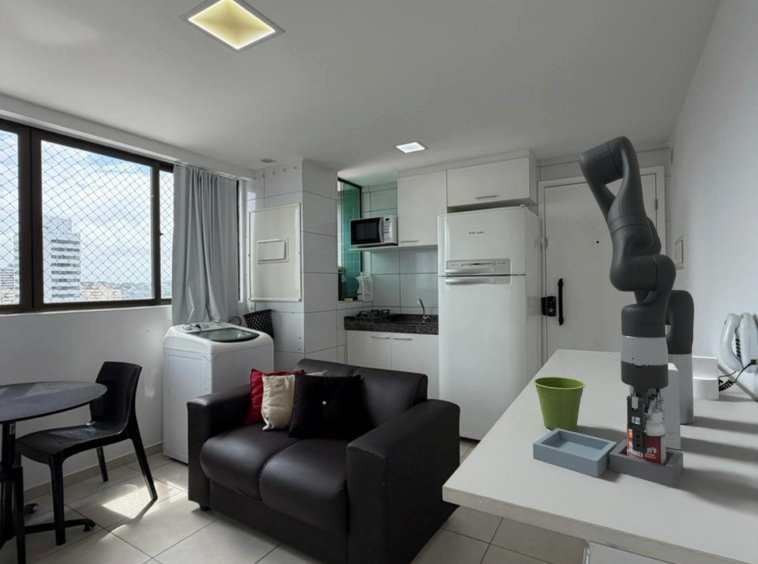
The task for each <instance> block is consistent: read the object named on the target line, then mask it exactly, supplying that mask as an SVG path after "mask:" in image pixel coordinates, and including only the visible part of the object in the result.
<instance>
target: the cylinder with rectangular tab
mask: <svg viewBox="0 0 758 564" xmlns="http://www.w3.org/2000/svg"><path fill="white" fill-rule="evenodd" d="M718 359H719V358H718V357H716V356H704V355H703V356H701V355H692V368H693V400H694V399H695V400H703V401H704V400H705V401H715V400H716V399H717V400H719V398H720V397H719V395H720V394H719V364H718V362H719V361H718Z"/></svg>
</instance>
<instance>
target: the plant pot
mask: <svg viewBox="0 0 758 564" xmlns="http://www.w3.org/2000/svg"><path fill="white" fill-rule="evenodd" d="M532 382H533V384H534V385H535V389H536V393H537V395H538V399H539V404H540V409H541V410H540V411H541V415H542V420H543V426H544V427H545V428H546V429H547V428H548V429H550V430H551V431H553V430H555V429H556V428H559V429H563V430H567V431H572V432H576V430H577V427H578V418H579V413H580V412H579V411H580V407H581V399H582V396H583V392H584V391H583V390H584V388H585V387H586V386H587V384H586V383H585V382H584V381H581V380H579V379H575V378H573V377H572V378H571V377H564V376H541V377H540V376H539V377H537V378H535V379H533V380H532Z"/></svg>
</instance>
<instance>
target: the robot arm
mask: <svg viewBox="0 0 758 564" xmlns="http://www.w3.org/2000/svg"><path fill="white" fill-rule="evenodd" d="M578 163H579V167H580V171H581V173H582V175H583V178H584V179H585V182H586V184H587V185H588V187H589V190H590V191H591V193H592V195H593V197H594V199H595V202H596V203H597V205H598V207H599V209H600V211H601V214H602V215H603V218H604V220H605V224H606V226H607V229H608V231H609V235H610V239H611V243H612V255H611V256H612V257H611V258H612V259H611V264H610V268H609V269H610V270H609V280H610V284H611V286H613V287H614V288H615V289H616V290H617V291H620V292H623V293H624V292H628V293H632V292H633V294H634V298H635V301H636V303H631V304H627V305H625V306H623V307H622V308H621V312H620V321H621V324H620V326H621V341H620V376H621V377H620V380H621V382H622V383H624V384H625V385H628V386H629V385H631V386H632V387H633V394H631V395H630V396H629V395H627V396H626V410H627V411H626V421H627V422H626V429H627V428H628V429H631V430H632V448H633V450H634V451H637V452H641V453H646V452H647V431H648V422H651V421H652V416H653V409H654V408H656V409H658V410H660V411H661V412H662V410H661V391H660V389H661V388H665V387H667V386H668V384H669V380H668V363H673V364H674V365H675V367H676V368H677V369H678V371H679V403H680V425H681V424H684V425H685V424H692V423H693V422H694V421H695V415H694V414H695V413H694V412H695V411H694V408H695V407H694V398H693V368H692V356H693V344H694V343H693V342H694V326H695V325H694V322H695V302H694V298H693V295H692V294H691V293H690V292H688V291H687V290H685V289H684V290H683V289H673V287H674V285H675V282H676V278H677V267H676V265H675V262H674V261H673V260H672V258H670V256H668V255H667V254H661V252H662V243H661V239H660V236H659V233H658V231H657V229H656V228H657V227H656V226H655V223H654V221H653V220H652V219H651V218H649V216H648V214H647V211H646V207H645V202H644V195H643V194H644V192H643V184H642V177H641V176H642V175H641V170H640V165H639V159H638V156H637V152H636V150H635V147H634V146H633V143H632V141H631V140H630V139H629V138H628V137H627V136H625V135H621V136H617V137H614V138H611V139H609V140H607V141H605V142H603V143H601V144H598V145H596V146H594V147H592V148H590V149H587V150H585V151H583V152H582V153H581V154H580V155H579V158H578ZM621 179H622V182H621V184H620V188H619V189H618V192H617V193H616V195H615V194H614V193H613V192H612V191H611V190H610V189H609V188H608V186H607V185H608V184H611V183H613V182H616V181H619V180H621ZM666 326H669V331H668V333H666ZM635 409H636V410H635ZM645 413H647V414H645ZM637 419H639V420H640V424H635V423H636V420H637Z"/></svg>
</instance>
